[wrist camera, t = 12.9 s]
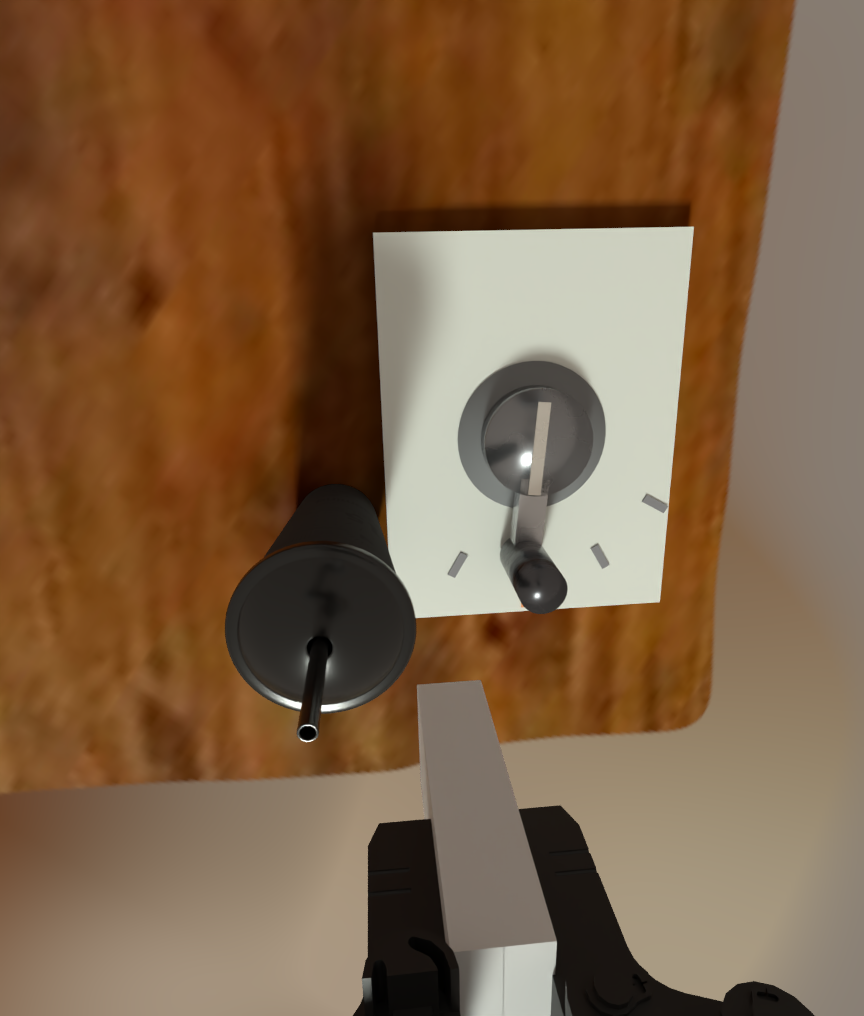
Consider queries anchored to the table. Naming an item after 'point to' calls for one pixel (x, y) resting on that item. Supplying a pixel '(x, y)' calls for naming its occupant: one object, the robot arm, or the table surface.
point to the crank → (535, 479)
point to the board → (517, 363)
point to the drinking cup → (323, 611)
